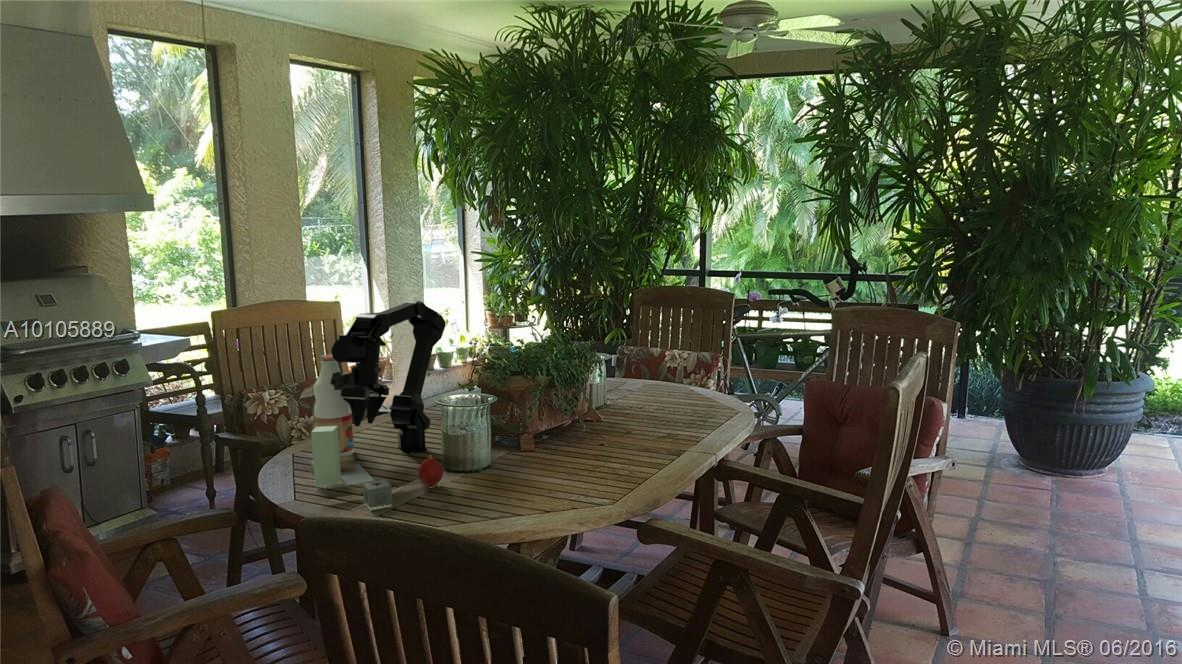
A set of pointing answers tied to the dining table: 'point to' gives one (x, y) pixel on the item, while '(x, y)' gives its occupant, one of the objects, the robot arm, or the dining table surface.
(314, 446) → the post
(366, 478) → the board
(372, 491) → the dice cube
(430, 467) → the onion
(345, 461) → the beam
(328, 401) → the fruit juice
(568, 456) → the dining table surface
